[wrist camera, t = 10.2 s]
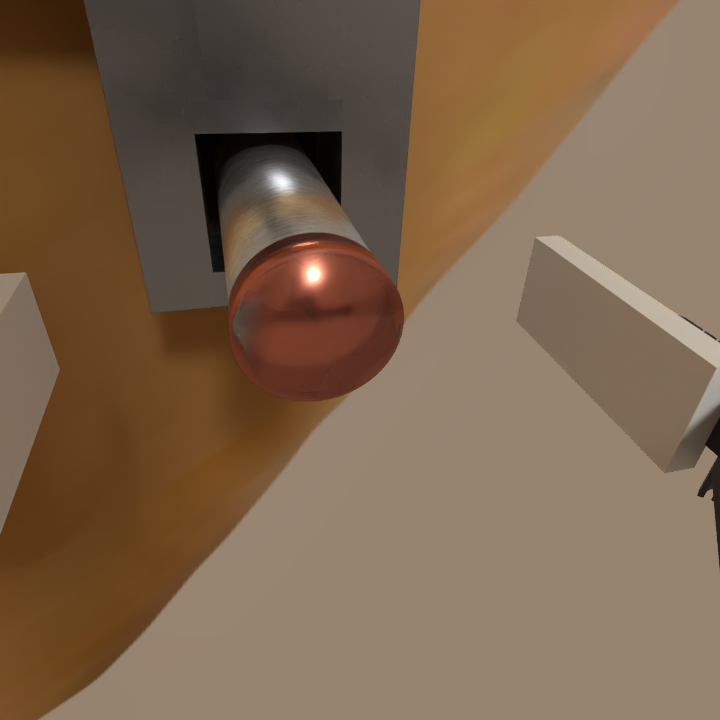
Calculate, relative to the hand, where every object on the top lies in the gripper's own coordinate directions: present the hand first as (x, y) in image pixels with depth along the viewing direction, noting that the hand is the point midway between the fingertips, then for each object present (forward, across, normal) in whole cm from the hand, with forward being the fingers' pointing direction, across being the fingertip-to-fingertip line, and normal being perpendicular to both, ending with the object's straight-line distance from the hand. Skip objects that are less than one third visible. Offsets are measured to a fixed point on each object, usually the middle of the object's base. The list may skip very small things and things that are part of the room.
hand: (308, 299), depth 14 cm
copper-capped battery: (+12, 0, 0) cm, 12 cm away
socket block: (+12, 0, +3) cm, 12 cm away
